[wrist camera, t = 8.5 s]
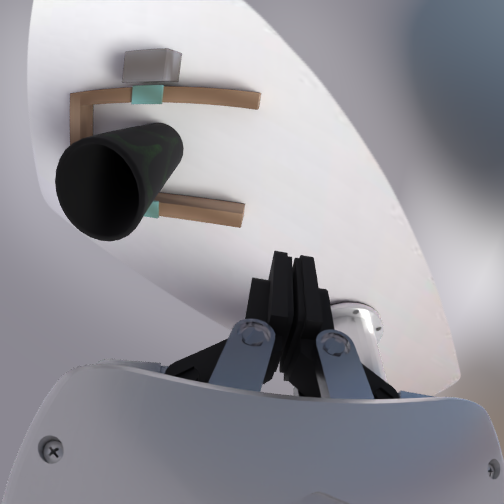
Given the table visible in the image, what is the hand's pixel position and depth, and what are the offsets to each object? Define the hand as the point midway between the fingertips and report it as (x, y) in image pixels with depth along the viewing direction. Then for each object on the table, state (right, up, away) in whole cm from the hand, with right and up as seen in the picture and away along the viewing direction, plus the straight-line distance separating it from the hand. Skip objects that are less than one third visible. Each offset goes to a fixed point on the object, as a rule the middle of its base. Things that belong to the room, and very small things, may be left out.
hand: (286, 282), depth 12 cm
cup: (-11, +12, +14) cm, 22 cm away
